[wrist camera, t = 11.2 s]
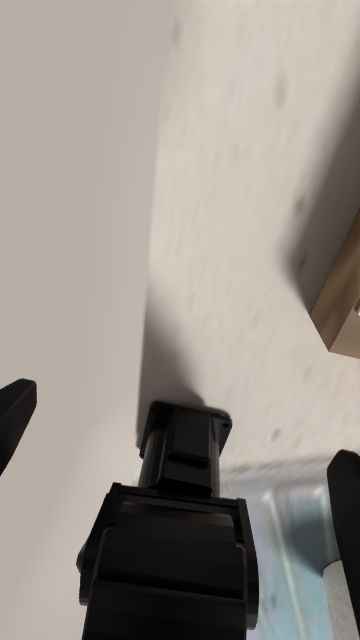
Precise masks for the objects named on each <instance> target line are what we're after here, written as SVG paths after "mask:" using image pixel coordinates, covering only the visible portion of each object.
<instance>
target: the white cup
mask: <svg viewBox="0 0 360 640" xmlns="http://www.w3.org/2000/svg"><path fill="white" fill-rule="evenodd" d="M322 579H323V584H324V588H325V593H326V597H327V601H328V611H329V617H330V621H331V625H332V633H333V639H334V640H360V638H359V634H358V630H357V626H356V621H355V617H354V613H353V608H352V604H351V600H350V595H349V591H348V587H347V582H346V578H345V574H344V569H343V565H342V561H341V560H339V561H336V562H333V563H331V564H330V565H329V566H327V567H326V568H325V569H324V571H323V575H322Z"/></svg>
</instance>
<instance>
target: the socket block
mask: <svg viewBox="0 0 360 640" xmlns="http://www.w3.org/2000/svg"><path fill="white" fill-rule="evenodd" d="M309 316H310V318H311V320H312V322H313V323H314V325H315V327H316V329H317V331H318V333H319V335H320V336H321V338H322V340H323V342H324V344H325V346H326V348H327V349H328V351H329V352H332V353H336V354H341V355H345V356H349V357H354V358H358V359H360V209H359V211H358V214H357V216H356V218H355V220H354V222H353V224H352V226H351V228H350V231H349V233H348V235H347V237H346V239H345V241H344V243H343V245H342V247H341V250H340V252H339V254H338V256H337V258H336V260H335V262H334V264H333V267H332V269H331V271H330V273H329V275H328V277H327V279H326V281H325V284H324V286H323V288H322V290H321V292H320V294H319V296H318V298H317V300H316V303H315V305H314V307H313V309H312V311H311V313H310V315H309Z"/></svg>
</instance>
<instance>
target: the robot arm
mask: <svg viewBox="0 0 360 640" xmlns="http://www.w3.org/2000/svg"><path fill="white" fill-rule="evenodd" d="M36 389H37V387H36V382H35V381H32V380H28V379H23V378H22V379H19V380H17V381H15V382H13V383H11V384H9V385H7V386H5V387H4V388H2V389H0V476H1V474H2V473H3V471H4V469H5V468H6V466H7V464H8V463H9V461H10V459H11V458H12V456H13V454H14V452H15V450H16V448H17V446H18V443H19V441H20V439H21V437H22V435H23V433H24V430H25V429H26V427H27V425H28V423H29V420H30V418H31V416H32V414H33V412H34V410H35V407H36V404H37V390H36ZM155 407H157V408H158V409H156V408H155ZM224 423H227V424H224ZM231 428H232V420H231V419H230V418H229V417H225V416H221V415H216V414H212V413H207V412H203V411H198V410H194V409H189V408H185V407H181V406H176V405H172V404H167V403H163V402H158V401H155V402H152V403H151V405H150V409H149V414H148V418H147V423H146V427H145V432H144V436H143V440H142V445H141V449H140V454H139V456H140V458H142V459H143V464H142V468H141V473H140V478H139V482H138V487H135V486H126V485H122V484H121V483H115V482H113V484H112V487H111V489H110V492H109V493H107V494H106V497H105V498H104V501H103V504H102V506H101V509H100V511H99V513H98V516H97V518H96V521H95V523H94V526H93V528H92V530H91V533H90V535H89V537H88V539H87V540H86V542H85V544H84V545H83V547H82V549H81V550H80V552H79V554H78V558H77V562H76V566H77V568H78V570H79V572H80V574H81V576H80V590H79V592H80V593H79V602H80V605H85V606H87V612H86V618H85V623H84V629H83V635H82V640H246V632H247V629H249V630H254V629H255V627H256V624H257V618H258V608H259V576H258V564H257V557H256V551H255V546H254V541H253V535H252V530H251V525H250V520H249V515H248V510H247V505H246V500H245V499H241V498H237V499H229V498H221V497H220V482H219V457H220V455H221V452H222V450H223V448H224V445H225V443H226V440H227V438H228V436H229V433H230V431H231ZM327 479H328V487H329V495H330V502H331V510H332V518H333V524H334V530H335V535H336V539H337V544H338V548H339V552H340V557H341V561H342V565H343V569H344V574H345V578H346V582H347V587H348V591H349V595H350V600H351V604H352V608H353V613H354V617H355V621H356V626H357V630H358V634H359V638H360V456H359V455H358V454H357V453H355V452H353V451H348V450H344V449H341V450H339V451H338V452H337V454H336V455H335V457H334V458H333V460H332V461H331V463H330V464H329V466H328V468H327Z"/></svg>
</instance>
